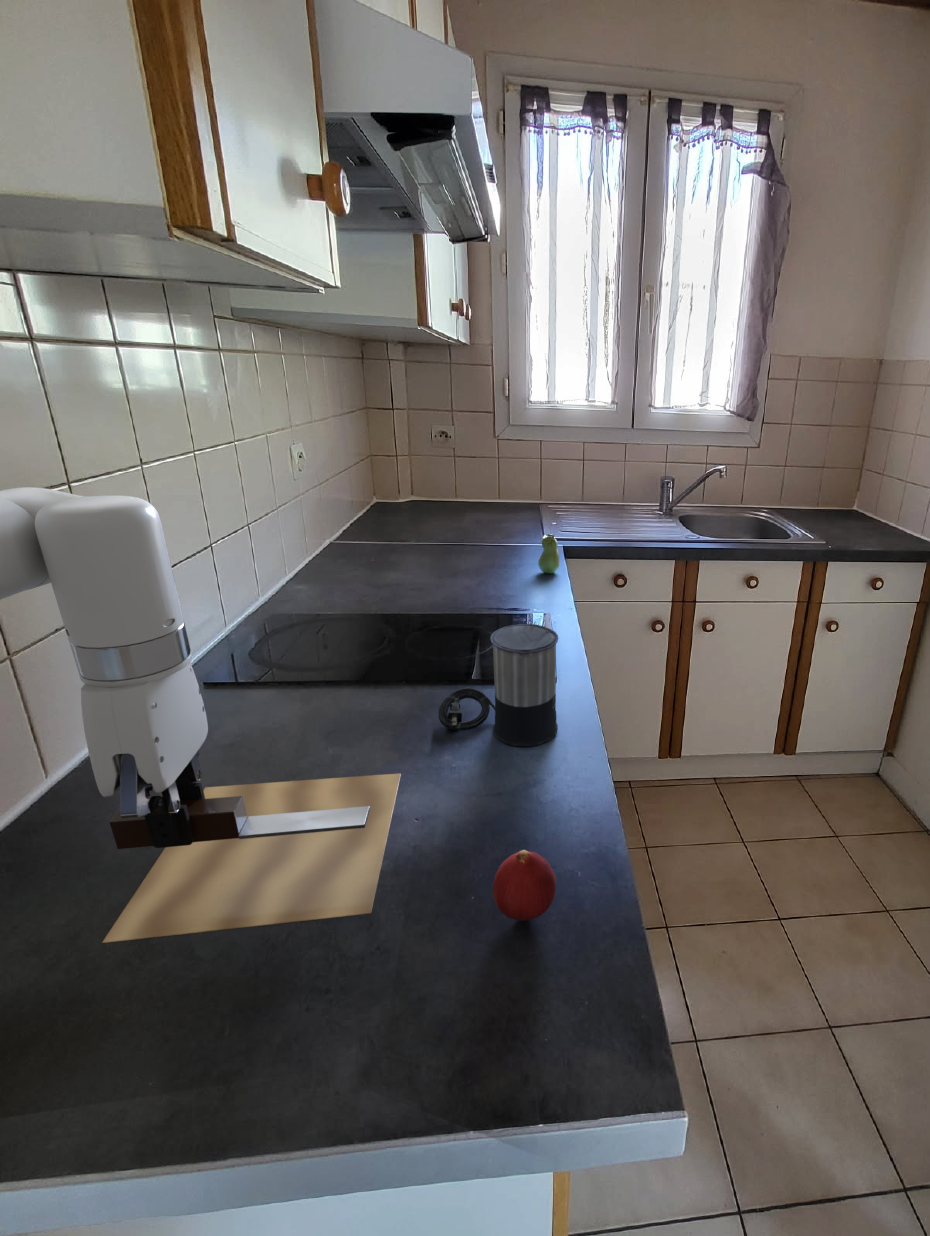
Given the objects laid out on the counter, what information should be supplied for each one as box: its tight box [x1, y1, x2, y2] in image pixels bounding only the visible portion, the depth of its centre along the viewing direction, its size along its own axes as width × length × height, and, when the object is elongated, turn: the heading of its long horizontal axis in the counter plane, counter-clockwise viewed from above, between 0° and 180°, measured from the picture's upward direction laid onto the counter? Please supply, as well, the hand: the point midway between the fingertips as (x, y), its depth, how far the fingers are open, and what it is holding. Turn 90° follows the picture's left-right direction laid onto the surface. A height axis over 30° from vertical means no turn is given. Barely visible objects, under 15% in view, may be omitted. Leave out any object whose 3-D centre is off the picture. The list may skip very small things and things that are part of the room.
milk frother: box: [438, 623, 559, 747], centre depth 90 cm, size 14×16×15 cm
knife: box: [109, 796, 370, 850], centre depth 59 cm, size 21×3×3 cm, turn 101°
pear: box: [537, 533, 560, 574], centre depth 160 cm, size 6×5×10 cm
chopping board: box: [101, 772, 402, 944], centre depth 67 cm, size 22×22×2 cm
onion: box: [492, 849, 557, 921], centre depth 60 cm, size 6×6×8 cm
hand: (182, 831), depth 59 cm, fingers closed on knife, 2 cm apart
